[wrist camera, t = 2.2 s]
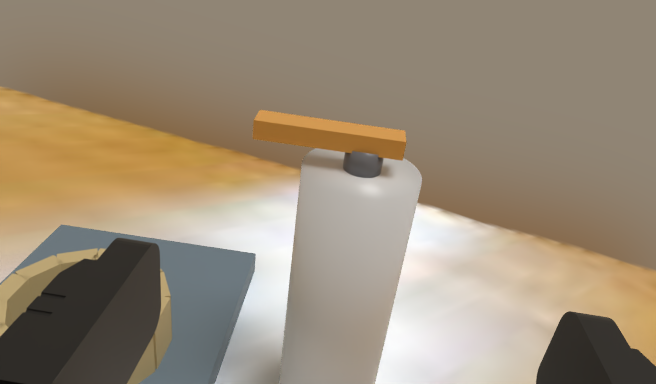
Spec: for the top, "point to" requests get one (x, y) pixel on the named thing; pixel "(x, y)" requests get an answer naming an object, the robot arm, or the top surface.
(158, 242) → the socket plate
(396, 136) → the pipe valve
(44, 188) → the top surface
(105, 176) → the top surface
